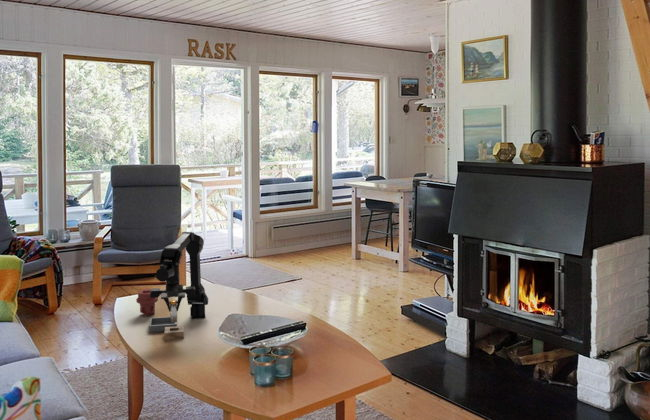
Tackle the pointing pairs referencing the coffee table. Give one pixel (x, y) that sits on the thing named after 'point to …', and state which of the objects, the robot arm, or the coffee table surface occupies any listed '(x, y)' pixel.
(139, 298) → the mechanical component
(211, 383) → the coffee table surface
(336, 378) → the coffee table surface
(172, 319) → the lock pin
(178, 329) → the block
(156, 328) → the tray
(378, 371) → the coffee table surface
